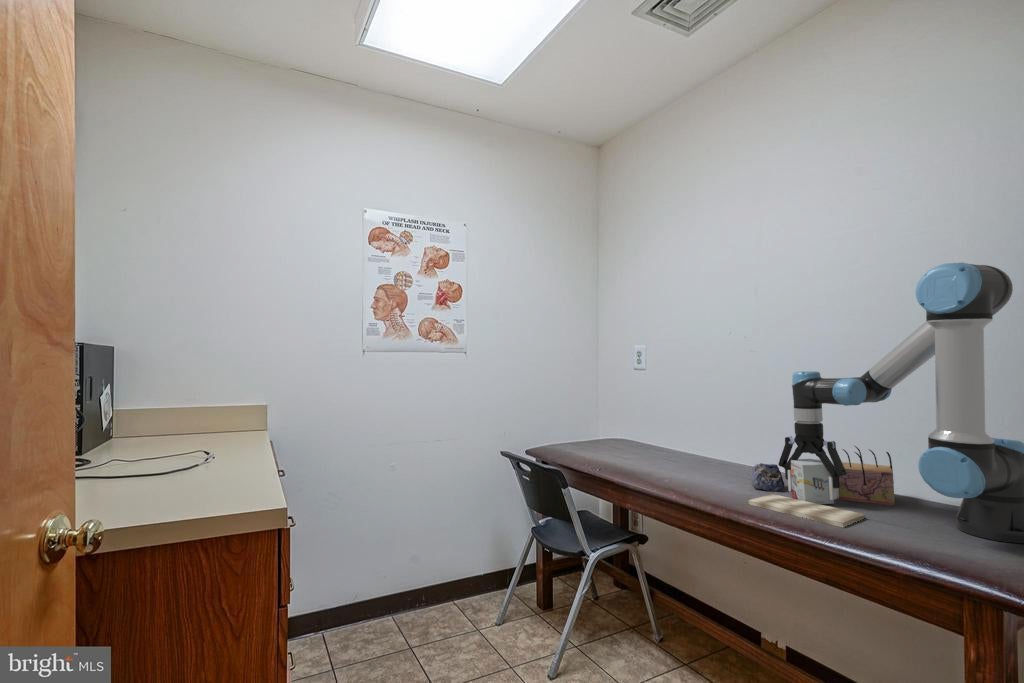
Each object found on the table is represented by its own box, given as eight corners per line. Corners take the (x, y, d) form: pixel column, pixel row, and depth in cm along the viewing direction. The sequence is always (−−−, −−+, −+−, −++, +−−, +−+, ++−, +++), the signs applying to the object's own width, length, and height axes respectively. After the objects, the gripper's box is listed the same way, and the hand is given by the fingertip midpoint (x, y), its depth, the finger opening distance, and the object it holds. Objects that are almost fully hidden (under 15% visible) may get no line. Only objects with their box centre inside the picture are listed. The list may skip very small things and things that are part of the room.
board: (865, 518, 135) (865, 514, 135) (843, 527, 128) (842, 522, 128) (771, 497, 157) (771, 493, 157) (748, 504, 150) (748, 500, 151)
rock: (792, 484, 162) (773, 456, 165) (762, 499, 163) (744, 470, 167) (786, 484, 172) (768, 457, 175) (757, 497, 173) (740, 470, 177)
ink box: (791, 496, 157) (789, 458, 157) (819, 496, 156) (817, 458, 157) (804, 504, 148) (802, 463, 149) (835, 504, 148) (832, 463, 148)
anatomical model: (893, 496, 155) (890, 447, 156) (896, 505, 146) (893, 453, 147) (833, 490, 164) (831, 444, 165) (832, 498, 155) (830, 449, 155)
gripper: (857, 424, 145) (862, 501, 144) (777, 418, 165) (780, 485, 164) (844, 426, 141) (849, 505, 140) (764, 419, 161) (767, 488, 160)
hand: (812, 494), depth 152 cm, fingers closed on ink box, 11 cm apart
